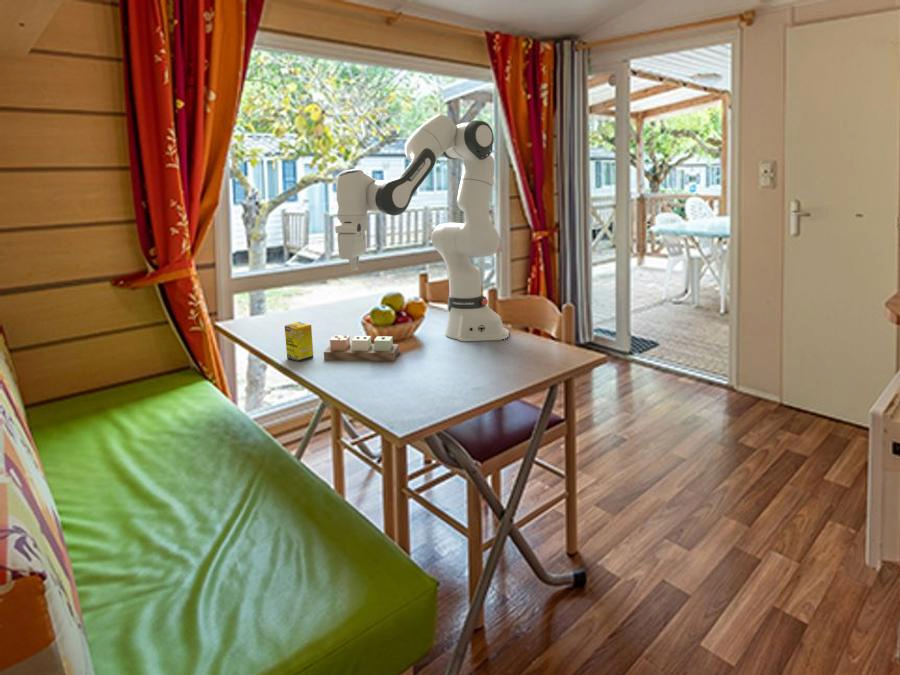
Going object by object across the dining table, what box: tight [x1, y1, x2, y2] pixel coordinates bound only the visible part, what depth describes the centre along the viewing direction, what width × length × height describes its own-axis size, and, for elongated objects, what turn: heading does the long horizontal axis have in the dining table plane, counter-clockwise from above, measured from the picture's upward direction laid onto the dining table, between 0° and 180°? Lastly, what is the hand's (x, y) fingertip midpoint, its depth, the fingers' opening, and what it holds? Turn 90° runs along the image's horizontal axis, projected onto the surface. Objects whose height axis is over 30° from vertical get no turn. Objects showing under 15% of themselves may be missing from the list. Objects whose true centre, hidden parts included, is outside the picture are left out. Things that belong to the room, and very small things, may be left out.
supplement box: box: [284, 321, 314, 363], centre depth 196 cm, size 6×6×11 cm
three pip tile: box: [329, 335, 351, 350], centre depth 199 cm, size 5×5×4 cm
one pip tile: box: [373, 335, 394, 351], centre depth 198 cm, size 5×5×4 cm
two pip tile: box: [351, 335, 372, 351], centre depth 199 cm, size 5×5×4 cm
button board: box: [323, 342, 400, 362], centre depth 199 cm, size 22×10×2 cm, turn 85°
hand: (354, 270), depth 192 cm, fingers closed
